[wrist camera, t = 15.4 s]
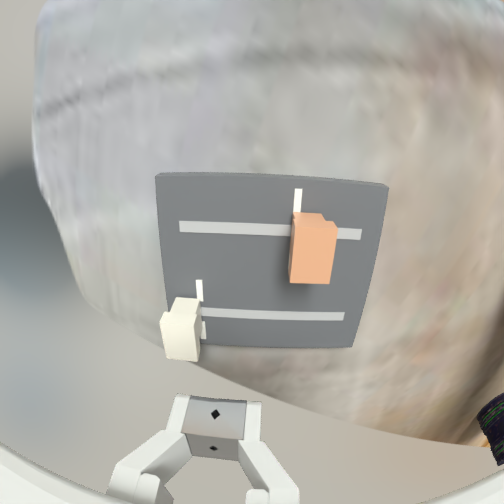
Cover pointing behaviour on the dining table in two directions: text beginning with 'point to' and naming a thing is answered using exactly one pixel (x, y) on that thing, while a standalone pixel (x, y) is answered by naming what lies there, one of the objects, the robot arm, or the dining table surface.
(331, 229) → the terracotta fader
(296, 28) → the dining table surface
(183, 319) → the cream fader
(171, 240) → the console
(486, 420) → the storage jar
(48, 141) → the dining table surface
